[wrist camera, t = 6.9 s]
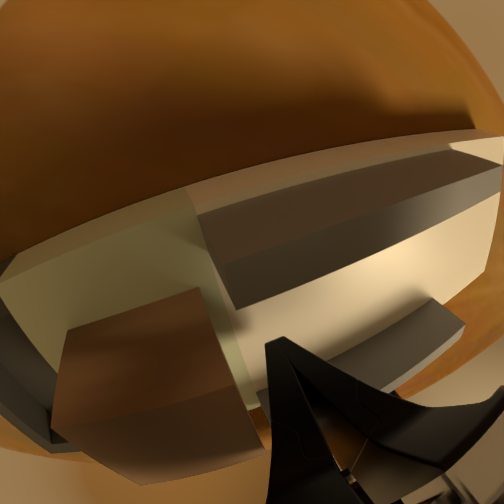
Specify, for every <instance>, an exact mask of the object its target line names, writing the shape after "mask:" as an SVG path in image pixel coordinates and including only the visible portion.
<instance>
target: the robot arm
mask: <svg viewBox="0 0 504 504" xmlns="http://www.w3.org/2000/svg"><path fill="white" fill-rule="evenodd" d="M264 347H265V358H266V370H267V382H268V394H269V406H270V418H271V432H272V453H271V466H270V477H269V486H268V495H267V499H266V504H504V386H500V387H499V388H498V389H497V390H496V392H495V393H494V394H493V395H492V397H490V398H489V399H487V400H486V401H483V402H480V403H475V404H467V405H458V406H447V407H426V406H421V405H418V404H415V403H413V402H410V401H407V400H404V399H402V398H401V397H400V396H399V395H398V393H397V392H396V391H395V390H393V391H392V392H390V393H386V392H383V391H381V390H378V389H376V388H374V387H372V386H370V385H368V384H366V383H364V382H363V381H361V380H359V379H358V380H357V378H355V377H353V376H352V375H350V374H348V373H346V372H345V371H343V370H341V369H339V368H337V367H336V366H334V365H332V364H330V363H329V362H327V361H325V360H324V359H322V358H320V357H318V356H317V355H315V354H313V353H312V352H310V351H308V350H306V349H305V348H303V347H301V346H300V345H298V344H296V343H295V342H293V341H291V340H290V339H288V338H287V337H285V336H281V337H279V338H276V339H274V340H271V341H269V342H266V343H265V344H264ZM332 454H333V455H332ZM333 456H334V458H335V459H336V461H337V462H338V464H339V466H340V467H341V469H342V470H343V471H340V469H339V468H338V466H337V464H336V462H335V459H334V458H333ZM353 479H356V480H357V481H355V482H353Z"/></svg>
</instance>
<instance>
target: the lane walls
mask: <svg viewBox="0 0 504 504" xmlns="http://www.w3.org/2000/svg"><path fill="white" fill-rule="evenodd" d="M502 172H503V165H501V164H498V163H495V162H493V161H490V160H487V159H484V158H481V157H478V156H475V155H471V154H468V153H465V152H461V151H458V150H454V149H449V150H444V151H438V152H433V153H428V154H423V155H418V156H414V157H409V158H404V159H399V160H395V161H390V162H386V163H382V164H377V165H373V166H369V167H364V168H360V169H356V170H352V171H348V172H344V173H340V174H336V175H332V176H328V177H325V178H321V179H317V180H313V181H309V182H306V183H302V184H298V185H295V186H291V187H288V188H284V189H281V190H277V191H274V192H270V193H267V194H263V195H260V196H257V197H253V198H250V199H247V200H243V201H240V202H237V203H234V204H230V205H227V206H224V207H221V208H218V209H215V210H211V211H208V212H205V213H202V214H199V215H197V217H198V220H199V223H200V227H201V230H202V234H203V237H204V240H205V243H206V247H207V250H208V253H209V255H210V257H211V259H212V261H213V263H214V265H215V268H216V270H217V272H218V274H219V276H220V278H221V280H222V282H223V284H224V286H225V289H226V291H227V293H228V295H229V297H230V299H231V301H232V303H233V305H234V307H235V309H236V311H237V310H240V309H242V308H245V307H248V306H250V305H253V304H255V303H258V302H261V301H263V300H266V299H268V298H271V297H274V296H276V295H279V294H281V293H284V292H286V291H289V290H291V289H294V288H296V287H299V286H301V285H304V284H306V283H308V282H311V281H313V280H316V279H318V278H321V277H323V276H325V275H328V274H330V273H332V272H335V271H337V270H339V269H342V268H344V267H346V266H349V265H351V264H353V263H356V262H358V261H360V260H362V259H365V258H367V257H369V256H371V255H374V254H376V253H378V252H380V251H382V250H385V249H387V248H389V247H391V246H393V245H395V244H398V243H400V242H402V241H404V240H406V239H408V238H410V237H412V236H415V235H417V234H419V233H421V232H423V231H425V230H427V229H429V228H431V227H433V226H435V225H437V224H439V223H441V222H443V221H445V220H447V219H449V218H451V217H453V216H455V215H457V214H459V213H461V212H463V211H465V210H467V209H469V208H471V207H472V206H474V205H476V204H478V203H480V202H482V201H484V200H486V199H487V198H489V197H491V196H493V195H495V194H497V193H498V192H500V191H501V183H502ZM465 325H466V324H465V323H464V322H463V321H462V320H460V319H459V318H458V317H457V316H455V315H454V314H453V313H452V312H450V311H449V310H448V309H447V308H445V307H444V306H443V305H442V304H440V303H439V302H438V301H436V300H435V299H434V298H432V299H431V300H430V301H428V302H427V303H425V304H424V305H422V306H421V307H419V308H418V309H416V310H415V311H413V312H412V313H410V314H409V315H407V316H405V317H404V318H402V319H401V320H399V321H397V322H396V323H394V324H393V325H391V326H389V327H388V328H386V329H384V330H383V331H381V332H379V333H378V334H376V335H374V336H372V337H371V338H369V339H367V340H365V341H363V342H362V343H360V344H358V345H356V346H354V347H353V348H351V349H349V350H347V351H345V352H343V353H341V354H339V355H337V356H335V357H333V358H331V359H329V360H327V362H329V363H330V364H332V365H334V366H336V367H337V368H339V369H341V370H343V371H345V372H346V373H348V374H350V375H352V376H353V377H355V378H357V380H358V379H359V380H361V381H363V382H364V383H366V384H368V385H370V386H372V387H374V388H376V389H378V390H381V391H383V392H386V393H390V392H392V391H393V390H394V389H396V388H397V387H399V386H400V385H402V384H403V383H405V382H406V381H407V380H409V379H410V378H412V377H413V376H414V375H416V374H417V373H418V372H420V371H421V370H422V369H424V368H425V367H426V366H427V365H429V364H430V363H431V362H432V361H434V360H435V359H436V358H437V357H439V356H440V355H441V354H442V353H443V352H445V351H446V350H447V349H448V348H449V347H450V346H452V345H453V344H454V343H455V342H456V341H457V340H458V339H459V338H460V337H461V335H462V333H463V330H464V328H465ZM256 394H257V397H258V400H259V402H260V405H261V407H262V409H263V411H264V413H265V415H266V417H267V419H268V421H269V423H270V425H271V418H270V406H269V394H268V388H265V389H263V390H260V391H258V392H256Z"/></svg>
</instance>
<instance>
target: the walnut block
mask: <svg viewBox="0 0 504 504" xmlns="http://www.w3.org/2000/svg"><path fill="white" fill-rule="evenodd" d="M51 429H53V430H54V431H55V432H56V433H58V434H59V435H60V436H62V437H63V438H64V439H66V440H67V441H68V442H70V443H71V444H72V445H74V446H75V447H77V448H78V449H79V450H81V451H82V452H84V453H85V454H87V455H88V456H90V457H91V458H93V459H95V460H96V461H98V462H99V463H101V464H103V465H104V466H106V467H107V468H109V469H111V470H113V471H114V472H116V473H118V474H120V475H122V476H123V477H125V478H127V479H129V480H131V481H133V482H135V483H137V484H139V485H148V484H154V483H160V482H166V481H172V480H176V479H181V478H186V477H191V476H195V475H199V474H203V473H207V472H211V471H215V470H218V469H221V468H225V467H228V466H232V465H235V464H238V463H241V462H244V461H247V460H250V459H253V458H256V457H259V456H261V455H264V454H266V451H265V448H264V446H263V444H262V442H261V440H260V437H259V435H258V433H257V431H256V429H255V426H254V424H253V422H252V419H251V417H250V415H249V412H248V410H247V408H246V405H245V403H244V401H243V398H242V396H241V394H240V391H239V389H238V386H237V384H236V381H235V379H234V376H233V374H232V372H231V369H230V367H229V364H228V362H227V359H226V357H225V354H224V352H223V349H222V347H221V344H220V342H219V339H218V337H217V334H216V332H215V329H214V326H213V324H212V321H211V319H210V316H209V313H208V310H207V308H206V305H205V302H204V300H203V297H202V294H201V291H200V289H199V287H197V288H194V289H191V290H188V291H185V292H182V293H179V294H176V295H173V296H170V297H167V298H164V299H161V300H158V301H155V302H152V303H149V304H146V305H143V306H140V307H137V308H134V309H131V310H128V311H125V312H122V313H119V314H116V315H113V316H110V317H107V318H104V319H101V320H97V321H94V322H91V323H88V324H85V325H82V326H79V327H76V328H73V329H69V330H67V334H66V338H65V342H64V346H63V351H62V356H61V360H60V365H59V371H58V376H57V382H56V388H55V395H54V402H53V410H52V419H51Z"/></svg>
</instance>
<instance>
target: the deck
mask: <svg viewBox="0 0 504 504" xmlns="http://www.w3.org/2000/svg"><path fill="white" fill-rule="evenodd" d="M449 149H454V150H458V151H461V152H465V153H468V154H471V155H475V156H478V157H481V158H484V159H487V160H490V161H493V162H495V163H498V164H501V165H503V154H504V136H501V135H498V134H494V133H491V132H487V131H483V130H479V129H466V130H453V131H442V132H433V133H424V134H415V135H407V136H400V137H393V138H386V139H380V140H374V141H368V142H362V143H356V144H351V145H345V146H340V147H335V148H330V149H325V150H320V151H315V152H311V153H306V154H301V155H297V156H293V157H288V158H284V159H280V160H276V161H272V162H268V163H264V164H260V165H256V166H252V167H249V168H245V169H241V170H238V171H234V172H230V173H227V174H223V175H220V176H217V177H213V178H210V179H207V180H203V181H200V182H197V183H194V184H190V185H187V186H184V187H181V188H178V189H175V190H172V191H169V192H166V193H163V194H160V195H157V196H154V197H151V198H149V199H146V200H143V201H140V202H137V203H135V204H132V205H129V206H127V207H124V208H121V209H119V210H116V211H113V212H111V213H108V214H106V215H103V216H101V217H98V218H96V219H93V220H91V221H88V222H86V223H84V224H81V225H79V226H77V227H74V228H72V229H70V230H67V231H65V232H63V233H61V234H58V235H56V236H54V237H52V238H49V239H47V240H45V241H43V242H41V243H39V244H37V245H35V246H32V247H30V248H28V249H26V250H24V251H22V252H20V253H18V254H17V255H16V257H15V258H14V259H13V261H12V262H11V263H10V265H9V266H8V267H7V269H6V270H5V271H4V273H3V274H2V275H1V277H0V297H1V299H2V300H3V302H4V303H5V305H6V307H7V308H8V310H9V311H10V313H11V314H12V316H13V317H14V319H15V320H16V322H17V323H18V324H19V326H20V327H21V329H22V330H23V331H24V333H25V334H26V336H27V337H28V338H29V340H30V341H31V342H32V343H33V345H34V346H35V347H36V349H37V350H38V351H39V352H40V354H41V355H42V356H43V357H44V358H45V360H46V361H47V362H48V363H49V364H50V366H51V367H52V368H53V369H54V370H55V371H56V372H57V373H58V371H59V365H60V360H61V356H62V351H63V346H64V342H65V338H66V334H67V330H69V329H73V328H76V327H79V326H82V325H85V324H88V323H91V322H94V321H97V320H101V319H104V318H107V317H110V316H113V315H116V314H119V313H122V312H125V311H128V310H131V309H134V308H137V307H140V306H143V305H146V304H149V303H152V302H155V301H158V300H161V299H164V298H167V297H170V296H173V295H176V294H179V293H182V292H185V291H188V290H191V289H194V288H197V287H199V289H200V291H201V294H202V297H203V300H204V302H205V305H206V308H207V310H208V313H209V316H210V319H211V321H212V324H213V326H214V329H215V332H216V334H217V337H218V339H219V342H220V344H221V347H222V349H223V352H224V354H225V357H226V359H227V362H228V364H229V367H230V369H231V372H232V374H233V376H234V379H235V381H236V384H237V386H238V389H239V391H240V394H241V396H242V398H243V401H244V403H245V405H246V408H247V410H248V411H249V410H252V409H254V408H257V407H259V406H261V405H260V402H259V400H258V397H257V394H256V392H258V391H260V390H263V389H265V388H268V382H267V370H266V358H265V347H264V344H265V343H266V342H269V341H271V340H274V339H276V338H279V337H281V336H285V337H287V338H288V339H290V340H291V341H293V342H295V343H296V344H298V345H300V346H301V347H303V348H305V349H306V350H308V351H310V352H312V353H313V354H315V355H317V356H318V357H320V358H322V359H324V360H325V361H327V360H329V359H331V358H333V357H335V356H337V355H339V354H341V353H343V352H345V351H347V350H349V349H351V348H353V347H354V346H356V345H358V344H360V343H362V342H363V341H365V340H367V339H369V338H371V337H372V336H374V335H376V334H378V333H379V332H381V331H383V330H384V329H386V328H388V327H389V326H391V325H393V324H394V323H396V322H397V321H399V320H401V319H402V318H404V317H405V316H407V315H409V314H410V313H412V312H413V311H415V310H416V309H418V308H419V307H421V306H422V305H424V304H425V303H427V302H428V301H430V300H431V299H432V298H434V299H435V300H436V301H438V302H439V303H440V304H442V305H443V304H444V303H446V302H447V301H448V300H450V299H451V298H452V297H453V296H455V295H456V294H457V293H458V292H460V291H461V290H462V289H463V288H465V287H466V286H467V285H468V284H469V283H471V282H472V281H473V280H474V279H475V278H477V277H478V276H479V275H480V274H481V273H482V272H483V271H484V269H485V266H486V262H487V258H488V255H489V250H490V246H491V242H492V237H493V233H494V228H495V223H496V217H497V211H498V205H499V198H500V192H498V193H497V194H495V195H493V196H491V197H489V198H487V199H486V200H484V201H482V202H480V203H478V204H476V205H474V206H472V207H471V208H469V209H467V210H465V211H463V212H461V213H459V214H457V215H455V216H453V217H451V218H449V219H447V220H445V221H443V222H441V223H439V224H437V225H435V226H433V227H431V228H429V229H427V230H425V231H423V232H421V233H419V234H417V235H415V236H412V237H410V238H408V239H406V240H404V241H402V242H400V243H398V244H395V245H393V246H391V247H389V248H387V249H385V250H382V251H380V252H378V253H376V254H374V255H371V256H369V257H367V258H365V259H362V260H360V261H358V262H356V263H353V264H351V265H349V266H346V267H344V268H342V269H339V270H337V271H335V272H332V273H330V274H328V275H325V276H323V277H321V278H318V279H316V280H313V281H311V282H308V283H306V284H304V285H301V286H299V287H296V288H294V289H291V290H289V291H286V292H284V293H281V294H279V295H276V296H274V297H271V298H268V299H266V300H263V301H261V302H258V303H255V304H253V305H250V306H248V307H245V308H242V309H240V310H237V311H236V309H235V307H234V305H233V303H232V301H231V299H230V297H229V295H228V293H227V291H226V289H225V286H224V284H223V282H222V280H221V278H220V276H219V274H218V272H217V270H216V268H215V265H214V263H213V261H212V259H211V257H210V255H209V253H208V250H207V247H206V243H205V240H204V237H203V234H202V230H201V227H200V223H199V220H198V217H197V215H199V214H202V213H205V212H208V211H211V210H215V209H218V208H221V207H224V206H227V205H230V204H234V203H237V202H240V201H243V200H247V199H250V198H253V197H257V196H260V195H263V194H267V193H270V192H274V191H277V190H281V189H284V188H288V187H291V186H295V185H298V184H302V183H306V182H309V181H313V180H317V179H321V178H325V177H328V176H332V175H336V174H340V173H344V172H348V171H352V170H356V169H360V168H364V167H369V166H373V165H377V164H382V163H386V162H390V161H395V160H399V159H404V158H409V157H414V156H418V155H423V154H428V153H433V152H438V151H444V150H449Z"/></svg>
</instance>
